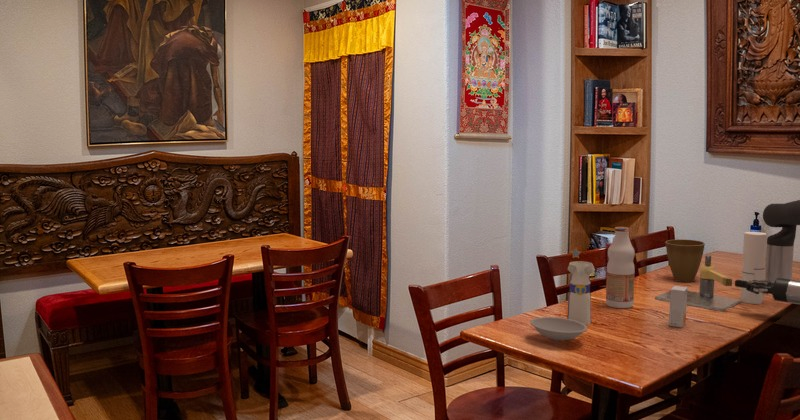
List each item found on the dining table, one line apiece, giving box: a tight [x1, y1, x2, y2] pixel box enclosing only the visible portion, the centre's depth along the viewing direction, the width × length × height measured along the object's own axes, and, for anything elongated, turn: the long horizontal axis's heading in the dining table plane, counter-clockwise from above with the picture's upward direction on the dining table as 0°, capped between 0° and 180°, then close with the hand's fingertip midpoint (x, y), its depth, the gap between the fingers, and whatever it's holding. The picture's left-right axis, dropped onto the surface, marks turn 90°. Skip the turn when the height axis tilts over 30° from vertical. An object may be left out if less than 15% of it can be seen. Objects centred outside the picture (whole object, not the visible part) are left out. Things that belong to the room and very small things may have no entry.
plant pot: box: [665, 238, 706, 283], centre depth 282 cm, size 15×15×16 cm
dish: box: [529, 316, 588, 342], centre depth 204 cm, size 18×14×5 cm
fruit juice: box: [605, 226, 636, 309], centre depth 243 cm, size 9×9×28 cm
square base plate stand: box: [654, 254, 742, 312], centre depth 249 cm, size 17×24×16 cm
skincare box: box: [668, 285, 688, 328], centre depth 219 cm, size 6×4×12 cm
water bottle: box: [566, 248, 596, 326], centre depth 223 cm, size 8×9×25 cm
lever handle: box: [699, 264, 733, 287], centre depth 244 cm, size 19×5×4 cm, turn 179°
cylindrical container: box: [740, 231, 768, 305], centre depth 247 cm, size 7×7×25 cm
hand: (735, 282), depth 234 cm, fingers closed
